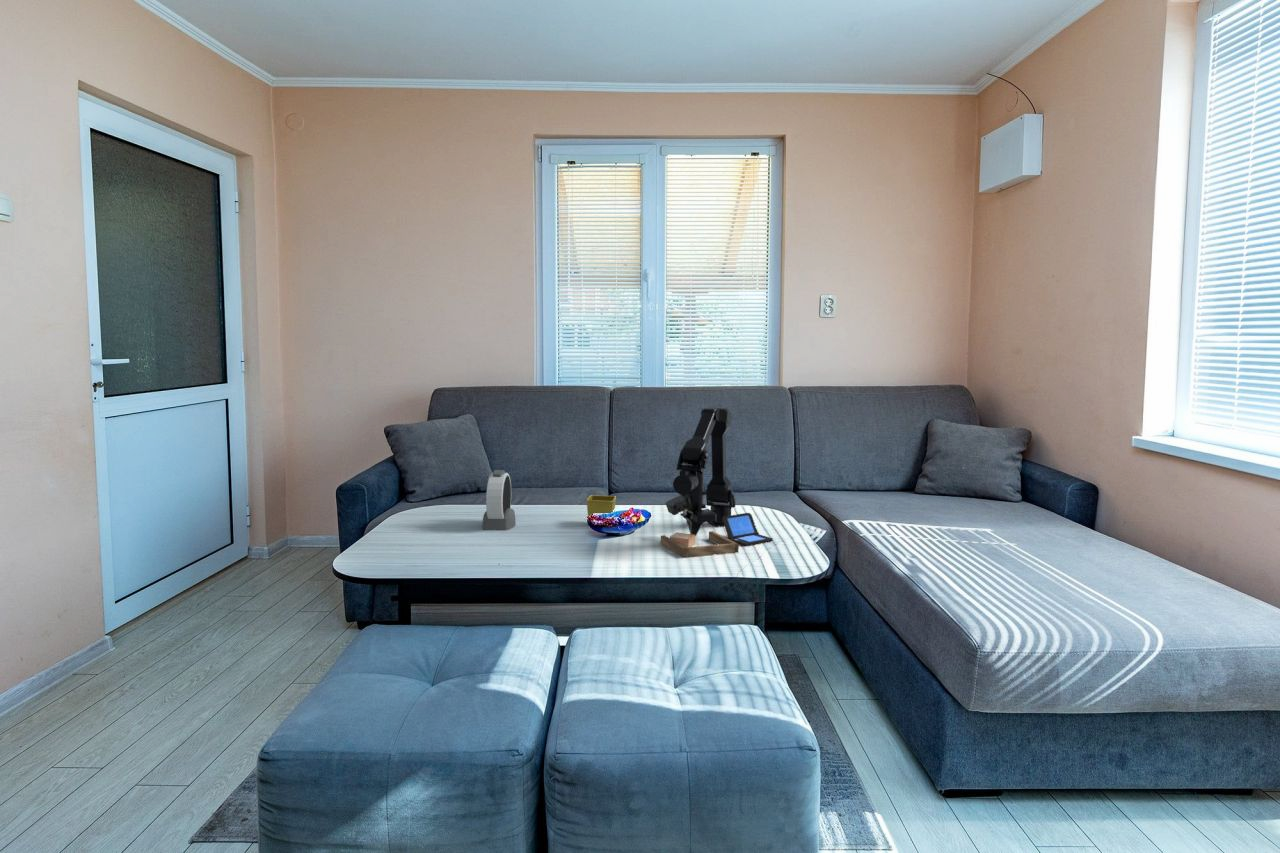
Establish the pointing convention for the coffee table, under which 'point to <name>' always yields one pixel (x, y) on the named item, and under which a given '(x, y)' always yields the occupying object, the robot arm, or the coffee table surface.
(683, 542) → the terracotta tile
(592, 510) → the flower pot
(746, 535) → the handheld game console
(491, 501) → the grey ring on stand
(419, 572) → the coffee table surface
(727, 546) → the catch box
